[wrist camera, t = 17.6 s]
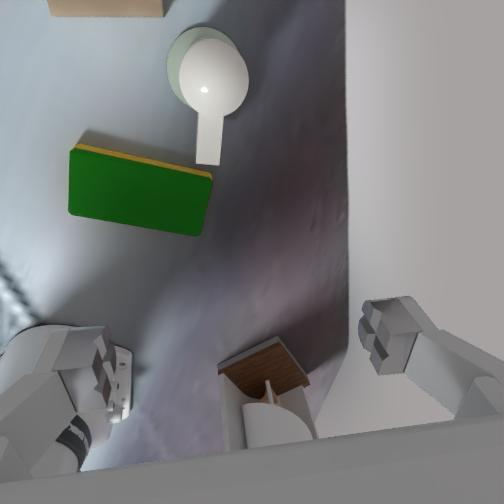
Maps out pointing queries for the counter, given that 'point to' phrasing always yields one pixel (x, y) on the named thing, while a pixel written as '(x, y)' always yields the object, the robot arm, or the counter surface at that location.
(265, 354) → the spiral staircase model
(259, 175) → the counter surface
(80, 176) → the dish sponge
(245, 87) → the jug
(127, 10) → the square wooden frame
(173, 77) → the trivet
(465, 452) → the robot arm
